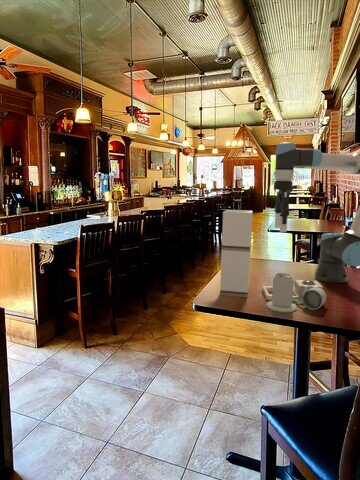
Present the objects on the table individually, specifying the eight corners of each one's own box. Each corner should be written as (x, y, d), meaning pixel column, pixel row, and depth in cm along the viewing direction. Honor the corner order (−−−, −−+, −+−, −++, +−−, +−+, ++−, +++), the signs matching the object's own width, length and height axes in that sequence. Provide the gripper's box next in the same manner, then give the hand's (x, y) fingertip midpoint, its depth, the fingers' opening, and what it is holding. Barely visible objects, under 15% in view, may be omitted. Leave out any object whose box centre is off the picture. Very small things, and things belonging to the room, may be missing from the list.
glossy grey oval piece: (311, 291, 154) (312, 280, 153) (313, 294, 150) (314, 282, 149) (301, 291, 154) (302, 279, 153) (303, 294, 150) (304, 282, 149)
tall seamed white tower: (248, 290, 161) (252, 210, 155) (247, 297, 151) (251, 212, 145) (222, 287, 163) (225, 209, 158) (219, 295, 153) (223, 211, 147)
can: (276, 300, 145) (278, 271, 143) (295, 304, 140) (297, 274, 138) (268, 305, 139) (270, 274, 137) (287, 309, 134) (289, 278, 132)
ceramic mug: (326, 305, 142) (327, 286, 141) (321, 311, 136) (323, 291, 134) (299, 300, 148) (300, 282, 147) (293, 306, 141) (294, 287, 140)
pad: (293, 303, 145) (293, 301, 144) (299, 312, 134) (299, 310, 134) (265, 301, 146) (265, 299, 145) (269, 311, 135) (269, 309, 135)
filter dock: (314, 292, 158) (315, 279, 158) (323, 303, 145) (324, 288, 144) (262, 290, 160) (262, 277, 160) (266, 300, 147) (267, 285, 146)
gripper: (270, 180, 168) (267, 226, 171) (279, 180, 143) (276, 233, 147) (286, 180, 167) (283, 226, 171) (299, 180, 143) (295, 234, 146)
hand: (280, 229), depth 159 cm, fingers open, 13 cm apart
